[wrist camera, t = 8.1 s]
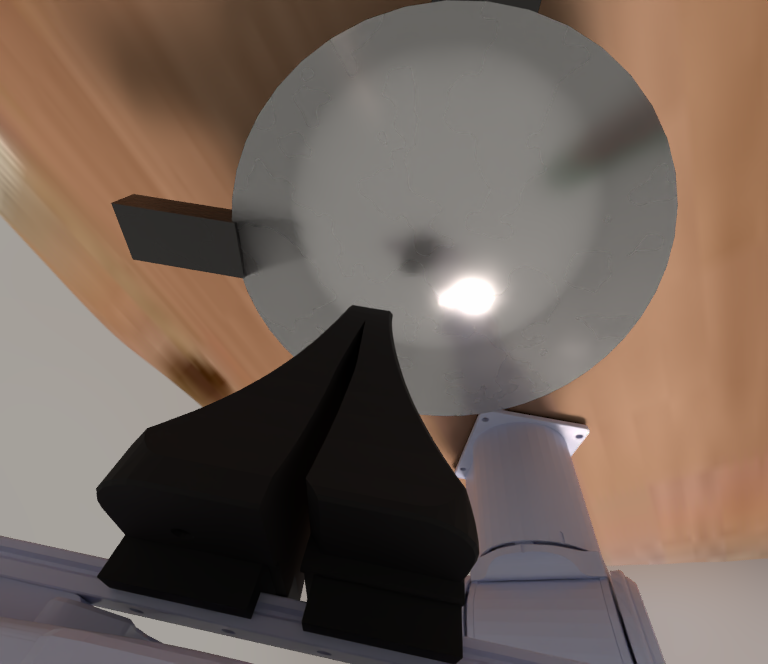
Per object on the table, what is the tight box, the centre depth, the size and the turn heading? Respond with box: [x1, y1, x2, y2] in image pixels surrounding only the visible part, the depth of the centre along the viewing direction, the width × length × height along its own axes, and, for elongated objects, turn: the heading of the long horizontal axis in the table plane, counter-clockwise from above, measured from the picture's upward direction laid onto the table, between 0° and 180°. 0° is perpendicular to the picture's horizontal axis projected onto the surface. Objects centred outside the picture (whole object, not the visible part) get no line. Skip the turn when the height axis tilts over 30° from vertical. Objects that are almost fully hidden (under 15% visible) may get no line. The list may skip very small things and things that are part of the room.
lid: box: [111, 0, 678, 416], centre depth 14 cm, size 16×21×1 cm
